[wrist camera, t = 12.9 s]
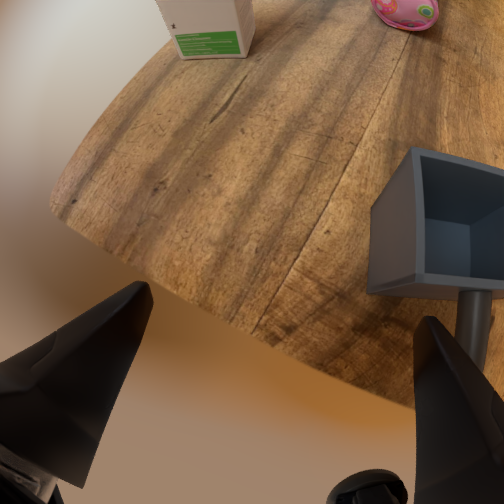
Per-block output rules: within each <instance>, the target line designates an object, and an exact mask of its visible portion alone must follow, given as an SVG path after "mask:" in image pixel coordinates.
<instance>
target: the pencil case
mask: <svg viewBox="0 0 504 504" xmlns="http://www.w3.org/2000/svg"><path fill="white" fill-rule="evenodd" d="M371 3H372V6H373V8H374V10H375V12H376V13H377V14H378V16H379V17H380V18H381V19H382V20H383V21H384V22H385V23H387V24H388V25H390V26H393V27H396V28H399V29H404V30H410V31H421V30H425V29H428V28H430V27H431V26H433V25H434V24H435V22H436V21H437V19H438V16H439V9H438V1H437V0H371Z"/></svg>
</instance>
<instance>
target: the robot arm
mask: <svg viewBox="0 0 504 504" xmlns="http://www.w3.org/2000/svg"><path fill="white" fill-rule="evenodd" d="M152 308H153V297H152V294H151V290H150V287H149V284H148V283H147V282H143V281H135V282H133V283H132V284H130V285H128V286H127V287H125V288H123V289H122V290H120V291H118V292H117V293H115V294H114V295H112V296H110V297H109V298H107V299H105V300H104V301H102V302H101V303H99V304H97V305H96V306H94V307H92V308H91V309H90V310H88V311H86V312H85V313H83V314H81V315H80V316H78V317H77V318H75V319H73V320H72V321H71V322H69V323H67V324H65V325H64V326H62V327H61V328H59V329H58V330H57V331H55V332H53V333H52V334H50V335H49V336H47V337H45V338H44V339H42V340H41V341H39V342H37V343H35V344H34V345H32V346H30V347H28V348H27V349H25V350H23V351H21V352H20V353H18V354H16V355H14V356H12V357H10V358H8V359H7V360H5V361H3V362H1V363H0V504H64V502H63V500H62V497H61V494H60V492H59V489H58V486H57V484H56V483H57V480H58V478H60V479H62V480H64V481H66V482H68V483H70V484H72V485H74V486H77V487H79V488H81V489H82V488H83V487H84V485H85V481H86V479H87V476H88V473H89V470H90V467H91V464H92V461H93V459H94V456H95V453H96V450H97V448H98V445H99V442H100V439H101V437H102V434H103V432H104V429H105V426H106V424H107V421H108V419H109V416H110V413H111V411H112V409H113V406H114V404H115V401H116V399H117V397H118V394H119V392H120V389H121V387H122V385H123V382H124V380H125V378H126V375H127V373H128V371H129V368H130V366H131V364H132V362H133V359H134V357H135V355H136V353H137V350H138V348H139V346H140V343H141V340H142V337H143V335H144V332H145V328H146V325H147V323H148V320H149V317H150V314H151V311H152ZM413 350H414V372H413V376H414V394H415V411H416V448H417V449H416V481H415V494H414V504H504V402H503V400H502V399H501V398H500V396H499V395H498V393H497V392H496V391H494V388H493V387H492V385H491V384H490V383H489V381H488V380H487V379H486V377H485V376H484V375H483V373H482V372H481V371H480V370H479V368H478V367H477V366H476V364H475V363H474V362H473V361H472V359H471V358H470V357H469V356H468V354H467V353H466V352H465V351H464V349H463V348H462V347H461V346H460V345H459V343H458V342H457V341H456V340H455V339H454V337H453V336H452V335H451V334H450V333H449V331H448V330H447V329H446V328H445V327H444V326H443V325H442V323H441V322H440V321H439V320H438V319H437V318H436V317H435V316H424V317H423V318H422V319H421V321H420V323H419V325H418V327H417V329H416V331H415V333H414V337H413ZM398 484H399V485H398ZM397 485H398V486H397ZM403 488H404V483H403V481H402V480H396V481H393V482H389V483H386V484H382V485H378V486H374V487H370V488H365V489H361V490H356V491H351V492H346V493H341V494H338V495H337V496H336V497H335V504H402V497H403ZM339 498H342V499H339Z"/></svg>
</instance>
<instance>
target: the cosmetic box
mask: <svg viewBox="0 0 504 504" xmlns="http://www.w3.org/2000/svg"><path fill="white" fill-rule="evenodd" d="M155 1H156V3H157V5H158V7H159V9H160V12H161V14H162V16H163V19H164V21H165V23H166V26H167V28H168V30H169V32H170V35H171V37H172V39H173V42H174V44H175V46H176V48H177V51H178V53H179V55H180V58H181V59H183V60H187V59H204V58H246V57H247V54H248V51H249V48H250V45H251V42H252V39H253V36H254V33H255V30H256V26H255V19H254V13H253V6H252V0H155Z"/></svg>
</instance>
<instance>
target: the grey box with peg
mask: <svg viewBox="0 0 504 504" xmlns="http://www.w3.org/2000/svg"><path fill="white" fill-rule="evenodd" d="M366 294H371V295H383V296H395V297H408V298H422V299H436V300H451V301H458V306H457V317H456V327H455V336H454V339H455V340H456V341H457V342H458V343H459V345H460V346H461V347H462V348H463V349H464V351H465V352H466V353H467V354H468V356H469V357H470V358H471V359H472V361H473V362H474V363H475V364H476V366H477V367H478V368H479V370H480V371H481V372H482V373H483V370H484V364H485V359H486V352H487V345H488V338H489V329H490V319H491V307H492V300H493V299H502V298H504V170H503V169H500V168H496V167H493V166H490V165H487V164H483V163H480V162H476V161H473V160H469V159H465V158H461V157H457V156H453V155H449V154H445V153H441V152H437V151H432V150H427V149H423V148H418V147H413V146H411V147H410V149H409V151H408V152H407V154H406V155H405V157H404V159H403V160H402V162H401V163H400V165H399V166H398V168H397V169H396V171H395V172H394V174H393V176H392V177H391V179H390V180H389V182H388V183H387V185H386V186H385V188H384V189H383V191H382V192H381V194H380V195H379V196H378V198H377V199H376V201H375V202H374V204H373V205H372V207H371V224H370V250H369V267H368V280H367V292H366Z"/></svg>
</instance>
